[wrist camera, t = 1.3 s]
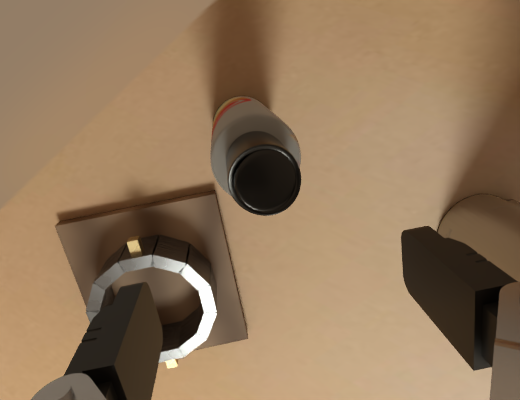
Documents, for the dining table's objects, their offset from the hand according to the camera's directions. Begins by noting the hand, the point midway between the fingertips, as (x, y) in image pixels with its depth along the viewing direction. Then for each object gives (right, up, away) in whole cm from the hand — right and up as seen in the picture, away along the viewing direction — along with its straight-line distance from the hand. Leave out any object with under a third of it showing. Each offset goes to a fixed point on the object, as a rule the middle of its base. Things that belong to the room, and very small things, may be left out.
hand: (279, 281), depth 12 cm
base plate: (-12, -6, +31) cm, 33 cm away
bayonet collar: (-11, -7, +29) cm, 32 cm away
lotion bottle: (-2, +10, +26) cm, 28 cm away
